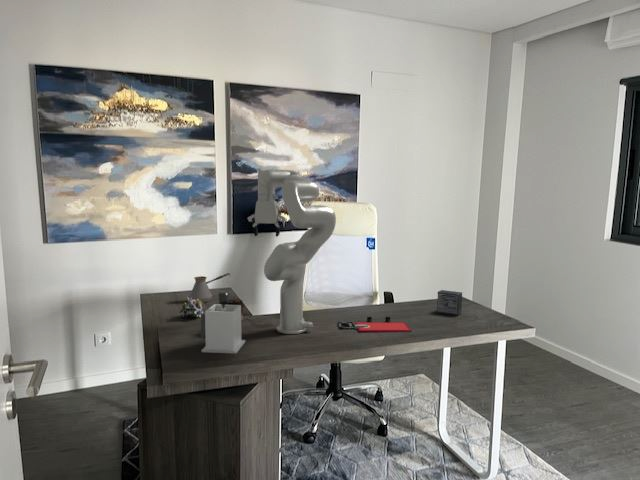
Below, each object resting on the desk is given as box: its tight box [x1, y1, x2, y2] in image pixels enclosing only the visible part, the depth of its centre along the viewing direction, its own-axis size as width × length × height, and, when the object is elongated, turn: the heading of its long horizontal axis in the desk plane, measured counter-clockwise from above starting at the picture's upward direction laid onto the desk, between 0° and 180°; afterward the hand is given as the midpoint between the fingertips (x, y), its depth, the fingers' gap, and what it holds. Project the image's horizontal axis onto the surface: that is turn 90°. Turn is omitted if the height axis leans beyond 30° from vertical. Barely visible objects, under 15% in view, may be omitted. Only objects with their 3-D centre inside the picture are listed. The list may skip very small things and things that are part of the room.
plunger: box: [217, 291, 229, 312], centre depth 177 cm, size 8×8×20 cm
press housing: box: [200, 303, 246, 355], centre depth 177 cm, size 15×13×15 cm
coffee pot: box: [189, 272, 231, 304], centre depth 248 cm, size 21×12×15 cm, turn 97°
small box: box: [436, 289, 463, 316], centre depth 229 cm, size 11×6×10 cm, turn 58°
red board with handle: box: [337, 316, 413, 334], centre depth 205 cm, size 30×3×15 cm
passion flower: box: [179, 296, 204, 319], centre depth 217 cm, size 11×11×12 cm
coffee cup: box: [225, 298, 245, 324], centre depth 197 cm, size 9×8×13 cm
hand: (266, 236), depth 212 cm, fingers open, 9 cm apart
